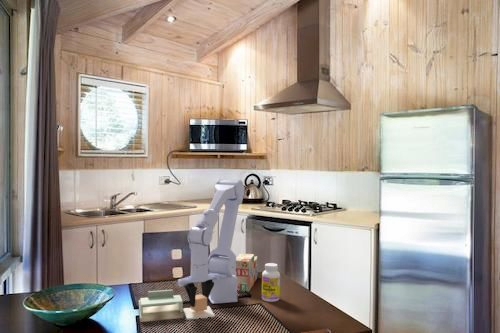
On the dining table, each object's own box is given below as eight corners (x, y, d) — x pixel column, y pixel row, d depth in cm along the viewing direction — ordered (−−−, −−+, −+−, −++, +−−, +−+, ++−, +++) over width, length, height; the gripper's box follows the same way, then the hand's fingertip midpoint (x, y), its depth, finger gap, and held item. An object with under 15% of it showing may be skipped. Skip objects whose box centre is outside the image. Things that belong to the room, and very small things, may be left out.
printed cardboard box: (244, 276, 175) (244, 248, 175) (258, 277, 173) (258, 249, 173) (232, 291, 154) (233, 259, 154) (248, 292, 152) (249, 260, 152)
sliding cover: (179, 305, 133) (180, 288, 133) (182, 311, 126) (182, 294, 126) (140, 308, 129) (140, 291, 129) (140, 315, 123) (141, 298, 123)
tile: (209, 307, 135) (209, 305, 135) (214, 317, 127) (214, 315, 127) (183, 309, 132) (183, 308, 132) (186, 319, 124) (186, 318, 124)
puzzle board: (177, 300, 142) (177, 296, 142) (183, 317, 126) (183, 314, 126) (138, 303, 138) (138, 300, 138) (140, 322, 122) (140, 318, 122)
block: (201, 305, 132) (201, 294, 132) (206, 309, 129) (207, 297, 129) (190, 308, 130) (190, 296, 130) (196, 312, 127) (196, 299, 127)
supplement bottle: (258, 300, 143) (259, 265, 143) (265, 295, 149) (265, 261, 149) (276, 303, 140) (277, 267, 140) (281, 297, 146) (282, 263, 146)
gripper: (212, 258, 137) (211, 297, 137) (174, 263, 129) (173, 305, 129) (223, 262, 131) (222, 303, 131) (183, 268, 123) (182, 311, 123)
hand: (198, 304), depth 130 cm, fingers closed on block, 4 cm apart
